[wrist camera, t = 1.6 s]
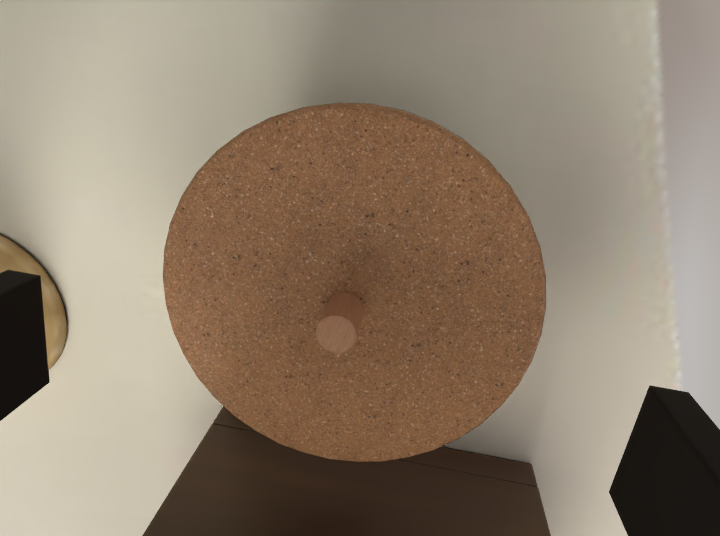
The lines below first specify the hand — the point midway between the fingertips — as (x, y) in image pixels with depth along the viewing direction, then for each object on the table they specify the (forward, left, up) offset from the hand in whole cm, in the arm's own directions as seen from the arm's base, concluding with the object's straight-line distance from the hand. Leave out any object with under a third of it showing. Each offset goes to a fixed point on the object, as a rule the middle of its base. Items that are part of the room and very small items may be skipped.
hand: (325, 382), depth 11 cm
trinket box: (0, 0, -11) cm, 11 cm away
